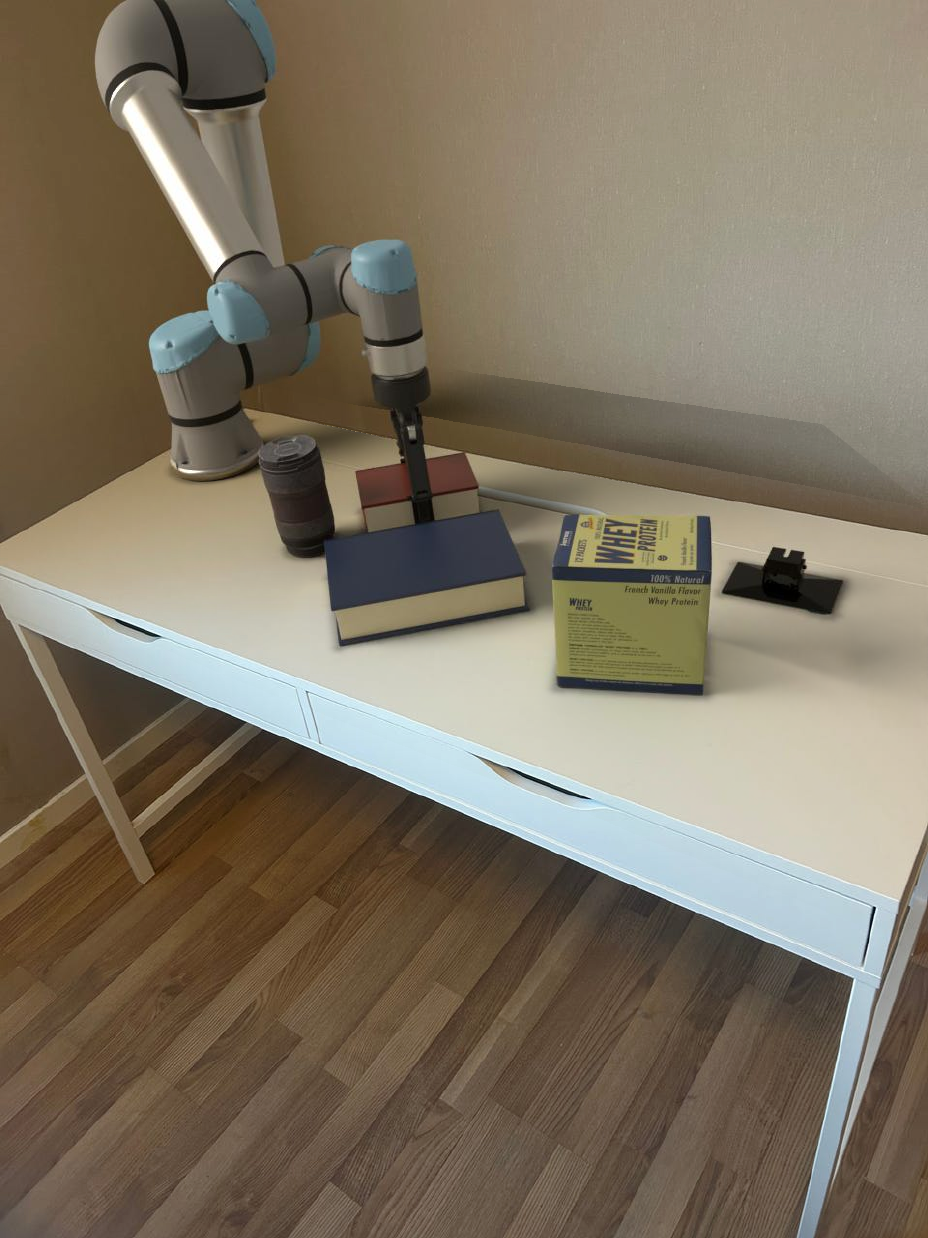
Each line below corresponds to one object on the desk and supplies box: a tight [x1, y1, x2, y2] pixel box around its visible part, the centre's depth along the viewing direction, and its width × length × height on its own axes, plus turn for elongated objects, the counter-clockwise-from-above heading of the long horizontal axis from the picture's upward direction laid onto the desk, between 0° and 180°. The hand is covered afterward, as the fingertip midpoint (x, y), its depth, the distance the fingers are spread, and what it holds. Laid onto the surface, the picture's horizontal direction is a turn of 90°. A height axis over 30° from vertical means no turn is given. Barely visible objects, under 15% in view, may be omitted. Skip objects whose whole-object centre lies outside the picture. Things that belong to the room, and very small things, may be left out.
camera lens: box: [258, 434, 336, 558], centre depth 126 cm, size 8×8×15 cm
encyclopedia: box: [324, 508, 530, 647], centre depth 116 cm, size 16×23×6 cm
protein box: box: [551, 514, 713, 696], centre depth 97 cm, size 10×16×16 cm
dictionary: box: [354, 451, 480, 533], centre depth 131 cm, size 11×16×6 cm
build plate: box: [721, 546, 844, 616], centre depth 109 cm, size 12×7×5 cm, turn 61°
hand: (421, 517), depth 133 cm, fingers open, 11 cm apart
